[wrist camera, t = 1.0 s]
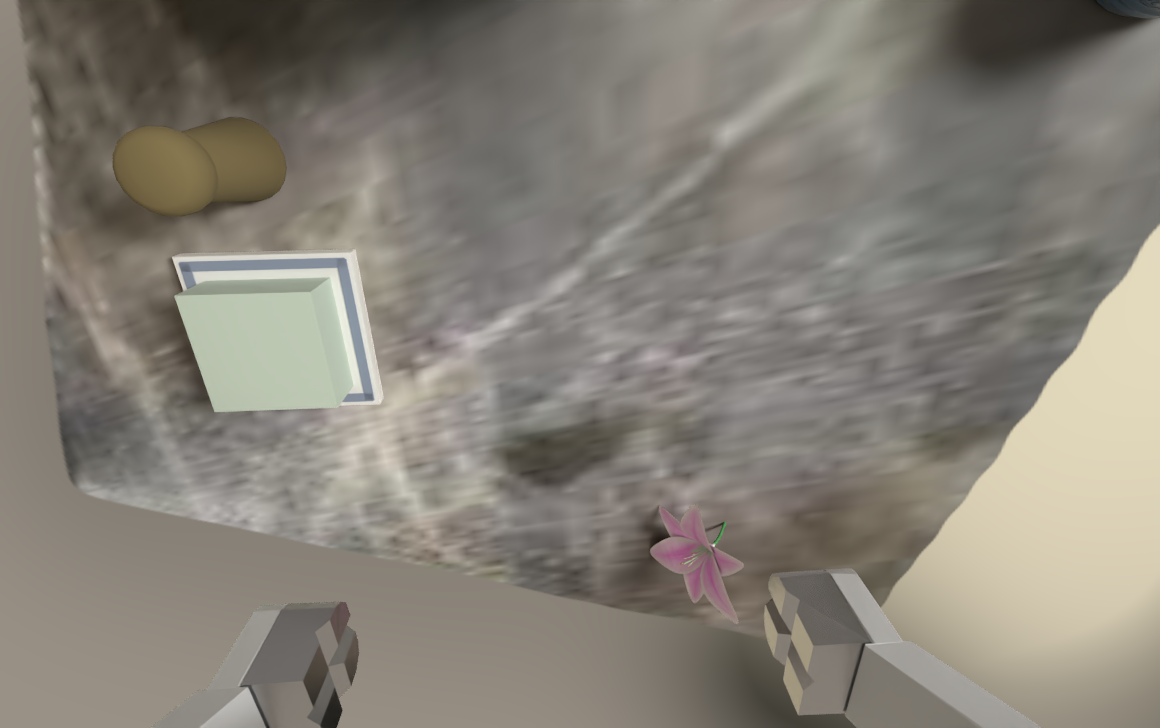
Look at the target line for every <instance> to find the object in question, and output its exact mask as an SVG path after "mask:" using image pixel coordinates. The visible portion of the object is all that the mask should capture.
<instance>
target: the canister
mask: <svg viewBox="0 0 1160 728" xmlns="http://www.w3.org/2000/svg"><path fill="white" fill-rule="evenodd" d="M1096 2H1097V3H1098V4H1100V5H1101V6H1102V7H1103V8H1105V9H1106V10H1108V11H1110V12H1112V13H1115V14H1117V15H1121V16H1127V17H1139V18H1160V0H1096Z"/></svg>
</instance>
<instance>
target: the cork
mask: <svg viewBox="0 0 1160 728" xmlns="http://www.w3.org/2000/svg"><path fill="white" fill-rule="evenodd" d="M113 170H114V173H115V176H116V179H117V181H118V183H119V184H120V186H121V187H122V189H123V190H124V192H125V193H126V194H127V195H128V196H129V197H130V198H132V199H133V200H134V201H135V202H136V203H138V204H139V205H141V206H143V207H144V208H146V209H148V210H149V211H152V212H155V213H158V214H161V215H166V216H185V215H189V214H192V213H195V212H198V211H201V210H202V209H203V208H204V207H205V206H206V205H208V204H209V203H210V202H234V201H261V200H264V199H267V198H270V197H272V196H273V195H274V194H276V193H277V192H278V191H279V190H280V189H281V187H282V185H283V183H284V181H285V176H286V163H285V157H284V154H283V152H282V150H281V148H280V146H279V144H278V142H277V141H276V140H275V138H274V137H273V136H272V135H271V134H270V133H269V132H268V131H267V130H266V129H264V128H263V127H262V126H260V125H259V124H257V123H256V122H253V121H250V120H247V119H244V118H233V117H229V118H226V119H222V120H219V121H216V122H212V123H209V124H206V125H202V126H199V127H196V128H192V129H189V130H185V131H182V132H180V131H177V130H174V129H171V128H168V127H163V126H143V127H140V128H137V129H134V130H132V131H130V132H128V133H126V134H125V135H124V136H123V137H122V138H121V139H120V140H119V141H118V142H117V145H116V147H115V150H114V152H113Z"/></svg>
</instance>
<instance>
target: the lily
mask: <svg viewBox="0 0 1160 728" xmlns="http://www.w3.org/2000/svg"><path fill="white" fill-rule="evenodd" d="M659 510H660V514H661V517H662V520H663V522H664V524H665V527H666V529H667V531H668V533H669V535H670V536H671V537H670V538H667V539H664V540H662V541H660V542H659V543H657V544H656V545H654V546H653V547H652V548H651V549H650V553H651V555H652V556H653V557H654V558H655V559H656V560H657V561H658V562H659V563H661V564H662V565H663V566H665V567H666V568H668V569H670V570H671V571H673V572H676V573H679V574H684V580H685V584H686V587H687V590H688V593H689V596H690V598H691V600H692V601H693V602H694V603H696V602H697V601H698V600H699V599H700V598H701V597H702V595H703V594H705V595H706V597H707V599H708V600H709V601H710V602H711V603H712V604H713V606H714V607H716V608H717V609H718V610H719V611H720V612H721V613H722V614H723V615H724V616H726V617H727V618H728V619H729V620H731V621H732V622H734V623H735V624H739V621H738V618H737V616H736V613H735V611H734V609H733V607H732V604H731V602H730V600H729V598H728V595H727V592H726V590H725V587H724V584H723V581H722V578H721V576H728V575H731V574H734V573H736V572H737V571H739V570H741V569H742V568H743V567H744V564H743V563H742V562H740V561H739V560H737V559H735V558H734V557H732V556H730V555H728V554H726V553H725V552H723V551H721V550H719V549H717V548H715V547H714V546H715V545H716V544H717V542H718V541H719V539H720V538H721V536H722V533H723V531H724V528H725V525H726V522H724V523H723V525H722V528H721V531H720V533H719V535H718V537H717V539H716V540H715V541H714V542H713V543H712V544H709V542H708V539H707V536H706V533H705V529H704V526H703V522H702V518H701V514H700V511H699V508H698V507H697V505H696V504H693V505H692V506H690V507H689V509H688V510H687V511H686V513H685V514H684V516H683V517H682V519H681V522H679V521H678V520H677V519H676V518H674V517H673V516H672V515H671V514H670V513H669V512H668V511H667V510H665V509H664V508H663V507H662V506H661V505H659Z"/></svg>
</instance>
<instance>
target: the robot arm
mask: <svg viewBox="0 0 1160 728" xmlns="http://www.w3.org/2000/svg"><path fill="white" fill-rule="evenodd" d="M768 589H769V591H770V593H771V596H772V599H771V600H770V601H769V602H768V603H766V604H765V612H764V624H765V632H766V636H767V640H768V643H769V646H770V648H771V651H772V654H773V656H774V657H775V658H776V659H777V660H778V661H780V662H781V663H782V664H783V665H784V666H785V673H784V678H783V680H784V683H785V685H786V687H787V690H788V692H789V695H790V697H791V699H792V702H793V704H794V707H795V709H796V711H797V714H798V715H812V714H813V715H814V714H835V713H846V714H845V716H846V717H847V718H848V719H849V720H850V721H851V722H852V723H853V724H854V725H855V726H856V727H857V728H1042V727H1040V726H1039V725H1037V724H1036V723H1034V722H1033V721H1031V720H1030V719H1028V718H1027V717H1025V716H1023V715H1022V714H1021V713H1019V712H1017V711H1016V710H1015V709H1013V708H1012V707H1010V706H1008V705H1007V704H1005V703H1004V702H1002V701H1001V700H999V699H998V698H996V697H995V696H993V695H992V694H990V693H989V692H987V691H986V690H984V689H983V688H981V687H980V686H978V685H977V684H975V683H973V682H972V681H971V680H969V679H968V678H966V677H965V676H963V675H962V674H960V673H959V672H957V671H956V670H954V669H952V668H951V667H950V666H948V665H946V664H945V663H943V662H942V661H940V660H939V659H937V658H936V657H934V656H933V655H931V654H930V653H928V652H927V651H925V650H924V649H922V648H921V647H919V646H918V645H916V644H915V643H913V642H911V641H902V639H901V638H900V636H899V635H898V633H897V632H896V630H895V629H894V627H893V626H892V624H891V623H890V622H889V620H888V619H887V617H886V616H885V614H884V613H883V611H882V610H881V608H880V607H879V605H878V604H877V602H876V601H875V600H874V598H873V597H872V595H871V594H870V592H869V591H868V589H867V588H866V586H865V585H864V583H863V582H862V580H861V579H860V578H859V576H858V575H857V573H856V572H855V571H854V570H852V569H851V568H843V569H828V570H811V571H798V572H785V573H773V574H772V576H771V577H770V579H769V585H768ZM349 617H350V613H349V610H348V607H347V604H346V603H345V602H324V603H300V604H299V603H297V604H281V605H261V606H260V607H259V608H258V609H256V610H255V611H254V612H253V613H252V615H251V616H250V618H249V620H248V621H247V623H246V625H245V626H244V628H243V630H242V631H241V633H240V635H239V637H238V638H237V640H236V641H235V643H234V645H233V646H232V648H231V650H230V652H229V653H228V655H227V656H226V658H225V660H224V662H223V663H222V665H221V667H220V668H219V670H218V671H217V673H216V675H215V676H214V678H213V680H212V681H211V683H210V685H209V687H208V688H207V689H204V690H197V691H196V692H195V693H194V694H193V695H191V696H190V697H189V698H187V699H186V700H185V701H184V702H182V703H181V704H180V705H179V706H177V707H176V708H175V709H173V710H172V711H171V712H169V713H168V714H167V715H166V716H164V717H163V718H162V719H161V720H159V721H158V722H157V723H156V724H154V725H153V726H152V727H151V728H337V725H338V722H339V720H340V717H341V714H342V707H341V704H340V701H339V698H340V697H341V696H342V695H343V694H344V693H345V692H346V691H347V690H348V689H349V688H350V687H351V685H352V682H353V679H354V676H355V673H356V669H357V662H358V656H359V648H358V639H357V636H356V633H355V631H354V630H352V629H351V628H350V627H348V626H347V622H348V620H349Z"/></svg>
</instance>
